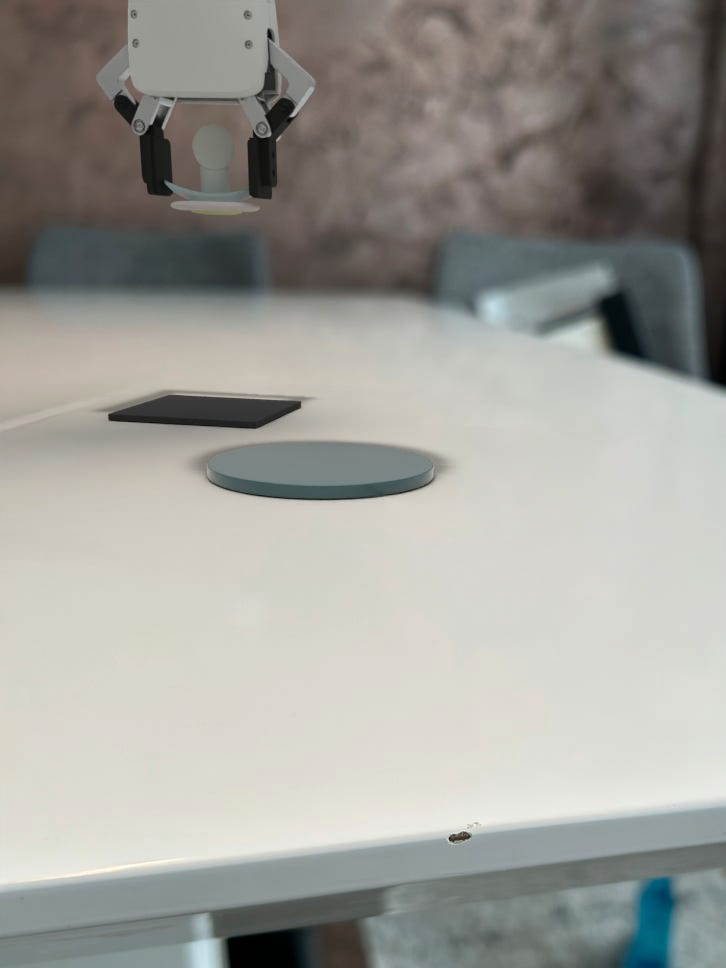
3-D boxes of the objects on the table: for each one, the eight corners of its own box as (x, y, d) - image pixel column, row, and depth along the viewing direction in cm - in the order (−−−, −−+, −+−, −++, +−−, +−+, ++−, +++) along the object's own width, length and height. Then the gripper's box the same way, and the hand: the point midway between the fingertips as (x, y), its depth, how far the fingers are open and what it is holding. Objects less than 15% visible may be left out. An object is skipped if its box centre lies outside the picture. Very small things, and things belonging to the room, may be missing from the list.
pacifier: (266, 217, 81) (265, 215, 86) (262, 122, 78) (262, 127, 84) (162, 214, 79) (168, 213, 85) (155, 118, 77) (162, 123, 82)
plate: (170, 490, 64) (169, 477, 63) (251, 449, 77) (250, 437, 76) (409, 505, 62) (409, 491, 62) (450, 460, 75) (450, 448, 75)
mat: (108, 420, 86) (107, 413, 86) (169, 400, 97) (169, 394, 97) (256, 428, 85) (256, 421, 85) (301, 406, 96) (301, 401, 96)
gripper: (334, -66, 79) (337, 202, 85) (104, -65, 81) (123, 196, 87) (302, -96, 72) (308, 198, 78) (52, -95, 74) (76, 191, 80)
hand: (210, 195), depth 82 cm, fingers closed on pacifier, 7 cm apart
